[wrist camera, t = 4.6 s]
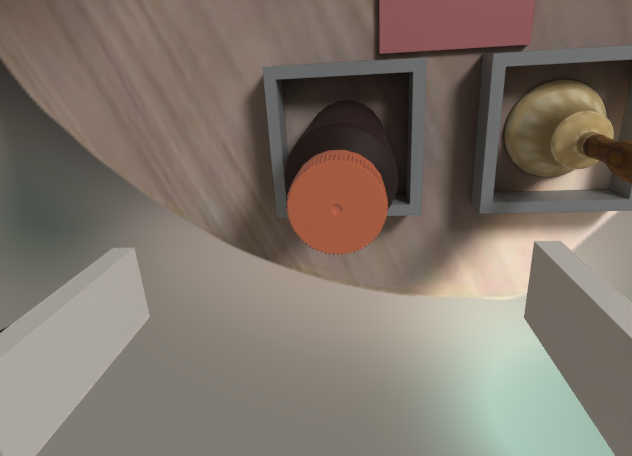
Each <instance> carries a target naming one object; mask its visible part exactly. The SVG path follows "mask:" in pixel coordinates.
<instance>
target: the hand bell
mask: <svg viewBox="0 0 632 456" xmlns="http://www.w3.org/2000/svg"><path fill="white" fill-rule="evenodd" d="M613 138H614V131H613V127H612V124H611V122H610V121H609V120H608V118H607V114H606V109H605V106H604V103H603V101H602V99H601V98H600V96H599V95H598V93H597V92H596V91H594V90H593V89H592V88H591V87H590V86H588V85H586V84H584V83H582V82H578V81H574V80H555V81H550V82H547V83H544V84H541V85H539V86H537V87H536V88H534V89H532V90H531V91H529V92H528V93H527V94H526V95H524V96H523V97H522V98H521V99H520V100H519V101H518V103H517V104H516V105H515V106H514V108H513V109H512V111H511V113H510V115H509V117H508V120H507V123H506V126H505V133H504V139H505V147H506V150H507V153H508V155H509V157H510V158H511V160H512V161H513V162H514V164H515V165H516V166H517V167H519V168H520V169H521V170H523V171H525V172H527V173H529V174H532V175H535V176H541V177H552V176H558V175H562V174H565V173H568V172H570V171H572V170H574V169H582V168H587V167H589V166H592V165H594V164H595V163H597V162H599V161H602V162H604V163H606V165H607V166H608V168H609V169H610V171H611V172H612V173H613V174H615V175H616V176H617V177H619V178H620V179H622V180H624V181H626V182H628V183H630V184H632V139H629V140H623V141H616V140H613Z"/></svg>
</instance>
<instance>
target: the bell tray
mask: <svg viewBox="0 0 632 456" xmlns="http://www.w3.org/2000/svg"><path fill="white" fill-rule="evenodd" d="M630 59H632V45H624V46H607V47H591V48H574V49H557V50H541V51H524V52H507V53H491V54H483V59H482V72H481V84H480V97H479V110H478V123H477V135H476V148H475V161H474V173H473V186H472V199H471V204H472V205H473V206H474V207H475V209H476V210H477V211H478V212H479V214H496V213H541V212H586V211H631V210H632V184H630V183H628V182H626V181H624V180H622V179H620V178H619V177H617V176H616V175H615V174H612V179H611V184H610V189H600V190H564V191H527V192H494V183H495V173H496V163H497V152H498V142H499V132H500V122H501V111H502V101H503V91H504V81H505V70H506V67H507V66H525V65H542V64H560V63H578V62H595V61H613V60H630ZM629 139H632V78H631V83H630V88H629V93H628V98H627V103H626V108H625V113H624V118H623V123H622V129H621V134H620V139H619V141H623V140H629Z"/></svg>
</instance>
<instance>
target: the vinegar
mask: <svg viewBox="0 0 632 456" xmlns="http://www.w3.org/2000/svg"><path fill="white" fill-rule="evenodd" d="M284 180H285V191H286V194H287V198H288V199H287V201H286V202H287V204H286V206H288V207H287V209H286V210H288V212H287V214H288V217H287V218H289V219H290V220H289V222H291V225H290V226H292V227H293V228H292V229H294V231H295V232H294V233H297V236H299V237H300V239H302V240H303V242H305V243H306V245H307V244H308V245H310V246H309V247H313V249H316V250H317V251H318V250H319V251H321V252H322V251H323V252H325V254H326V253H329V255H330V254H333V255H334V254H337V255H338V254H342V255H343V254H347V253H349V252H350V254H351V252H352V251H354V252H355V251H356V250H358V251H359V249H363V247H364V246H365V247H366V245H367V244H370V242H371V241H372V242H373V239H376V235H377V236H379V235H378V233H379V232H381V228H382V229H383V225H385V223H384V221H386V217H387V213H388V209H389V208H390V206H391V205H392V202H393V199H394V197H395V194H396V191H397V188H398V169H397V166H396V162H395V159H394V156H393V153H392V150H391V148H390V145H389V142H388V140H387V137H386V135H385V132H384V129H383V127H382V124H381V122H380V120H379V118H378V117H377V116H376V114H375V113H374V112H373V111H372V110H371V109H369V108H368V107H367V106H365V105H364V104H361V103H358V102H354V101H338V102H336V103H333V104H331V105H328V106H327V107H326V108H324V109H323V110H322V111H321V112H319V113H318V115H317V116H316V117H315V119H314V120H313V121H312V123H311V124H310V125H309V127H308V128H307V129H306V131H305V132H304V133H303V135H302V136H301V138H300V139H299V140H298V142H297V143H296V145H295V146H294V148H293V150H292V151H291V153H290V154H289V156H288V159H287V163H286V167H285V171H284Z"/></svg>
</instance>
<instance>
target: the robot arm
mask: <svg viewBox="0 0 632 456" xmlns="http://www.w3.org/2000/svg"><path fill="white" fill-rule="evenodd" d="M149 317H150V316H149V312H148V307H147V303H146V298H145V294H144V289H143V285H142V280H141V276H140V271H139V267H138V263H137V258H136V254H135V249H134V248H113V249H111V250H110V251H109V252H107V253H106V254H105V255H104V256H102V257H101V258H99V259H98V260H97V261H95V262H94V263H93V264H92V265H90V266H89V267H87V268H86V269H85V270H83V271H82V272H81V273H79V274H78V275H77V276H75V277H74V278H73V279H72V280H70V281H69V282H68V283H66V284H65V285H63V286H62V287H61V288H59V289H58V290H57V291H55V292H54V293H53V294H51V295H50V296H49V297H48V298H46V299H45V300H44V301H42V302H41V303H40V304H38V305H37V306H36V307H34V308H33V309H32V310H30V311H29V312H28V313H26V314H25V315H24V316H22V317H21V318H20V319H18V320H17V321H16V322H14V323H13V324H12V325H10V326H8V327H6V328H4V329H2V330H0V456H36V454H37V453H38V452H39V451H40V449H41V448H42V447H43V446H44V445H45V444H46V442H47V441H48V440H49V439H50V437H51V436H52V435H53V434H54V433H55V431H56V430H57V429H58V428H59V426H60V425H61V424H62V423H63V422H64V420H65V419H66V418H67V417H68V416H69V414H70V413H71V412H72V410H73V409H74V408H75V407H76V406H77V405H78V403H79V402H80V401H81V400H82V399H83V397H84V396H85V395H86V394H87V392H88V391H89V390H90V389H91V388H92V386H93V385H94V384H95V383H96V382H97V380H98V379H99V378H100V377H101V375H102V374H103V373H104V372H105V371H106V369H107V368H108V367H109V366H110V365H111V363H112V362H113V361H114V360H115V358H116V357H117V356H118V355H119V354H120V352H121V351H122V350H123V349H124V347H125V346H126V345H127V344H128V343H129V341H130V340H131V339H132V338H133V337H134V335H135V334H136V333H137V332H138V330H139V329H140V328H141V327H142V325H143V324H144V323H145V322H146V321H147V319H148V318H149ZM524 318H525V320H526V321H527V323H528V324H529V326H530V327H531V329H532V330H533V332H534V333H535V335H536V336H537V338H538V339H539V341H540V342H541V344H542V345H543V347H544V348H545V350H546V351H547V353H548V355H549V356H550V357H551V359H552V361H553V362H554V363H555V365H556V366H557V368H558V370H559V371H560V373H561V374H562V376H563V377H564V379H565V380H566V382H567V383H568V385H569V386H570V388H571V389H572V391H573V392H574V394H575V395H576V397H577V398H578V400H579V401H580V403H581V404H582V406H583V407H584V409H585V411H586V412H587V414H588V415H589V417H590V418H591V420H592V421H593V423H594V424H595V426H596V427H597V429H598V430H599V432H600V433H601V435H602V436H603V438H604V439H605V441H606V442H607V444H608V445H609V447H610V448H611V450H612V451H613V453H614V454H615V456H632V303H631V302H630V301H629V300H628V299H626V298H625V297H624V296H623V295H622V294H621V293H620V292H618V291H617V290H616V289H615V288H614V287H612V285H610V284H609V283H608V282H607V281H606V280H605V279H603V278H602V277H601V276H600V275H599V274H598V273H596V272H595V271H594V270H593V269H592V268H591V267H590V266H588V265H587V264H586V263H585V262H584V261H583V260H581V259H580V258H579V257H578V256H577V255H576V254H575V253H573V252H572V251H571V250H570V249H569V248H568V247H567V246H565V245H564V244H563V243H562V242H561V241H534V248H533V255H532V262H531V270H530V277H529V285H528V292H527V299H526V307H525V314H524Z"/></svg>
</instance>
